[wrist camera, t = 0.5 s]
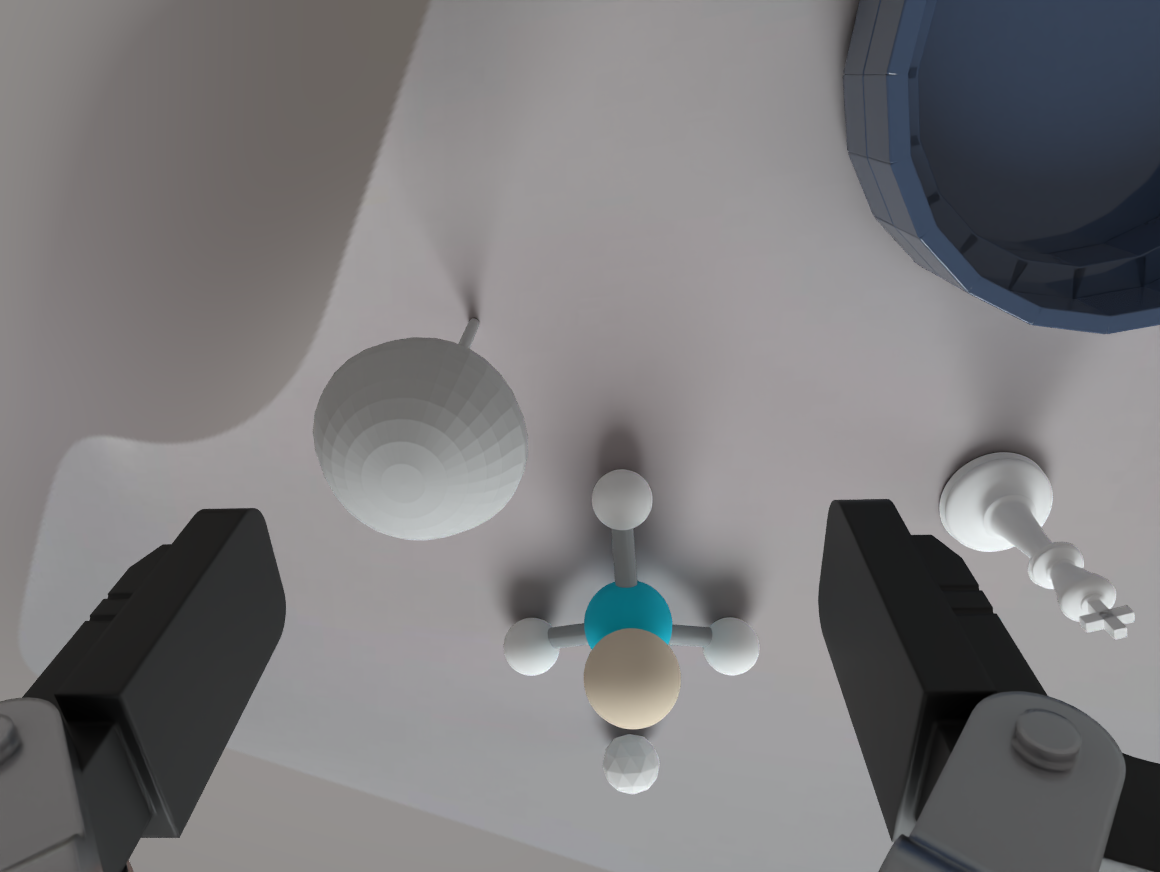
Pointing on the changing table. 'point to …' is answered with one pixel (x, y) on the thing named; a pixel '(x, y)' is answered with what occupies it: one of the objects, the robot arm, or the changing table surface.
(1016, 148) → the bowl
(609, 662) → the molecule model
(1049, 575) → the chess piece
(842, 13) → the changing table surface
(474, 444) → the lollipop
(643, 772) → the polyhedron
